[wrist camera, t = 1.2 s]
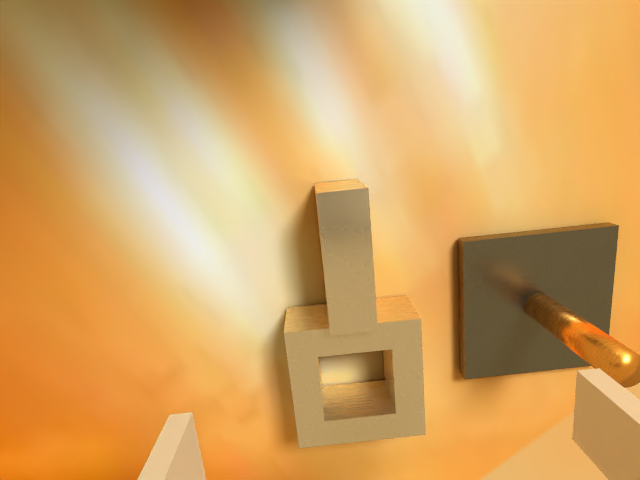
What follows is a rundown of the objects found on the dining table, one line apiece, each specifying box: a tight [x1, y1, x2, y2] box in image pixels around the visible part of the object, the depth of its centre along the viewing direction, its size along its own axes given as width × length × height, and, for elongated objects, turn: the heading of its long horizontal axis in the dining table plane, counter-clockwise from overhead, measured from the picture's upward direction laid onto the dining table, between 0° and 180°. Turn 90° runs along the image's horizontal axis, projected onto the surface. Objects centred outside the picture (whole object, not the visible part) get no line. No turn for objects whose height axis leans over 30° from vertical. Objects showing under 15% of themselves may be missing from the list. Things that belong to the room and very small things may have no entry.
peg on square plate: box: [458, 223, 640, 388], centre depth 26 cm, size 11×11×10 cm
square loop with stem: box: [284, 179, 425, 448], centre depth 27 cm, size 18×9×5 cm, turn 6°
